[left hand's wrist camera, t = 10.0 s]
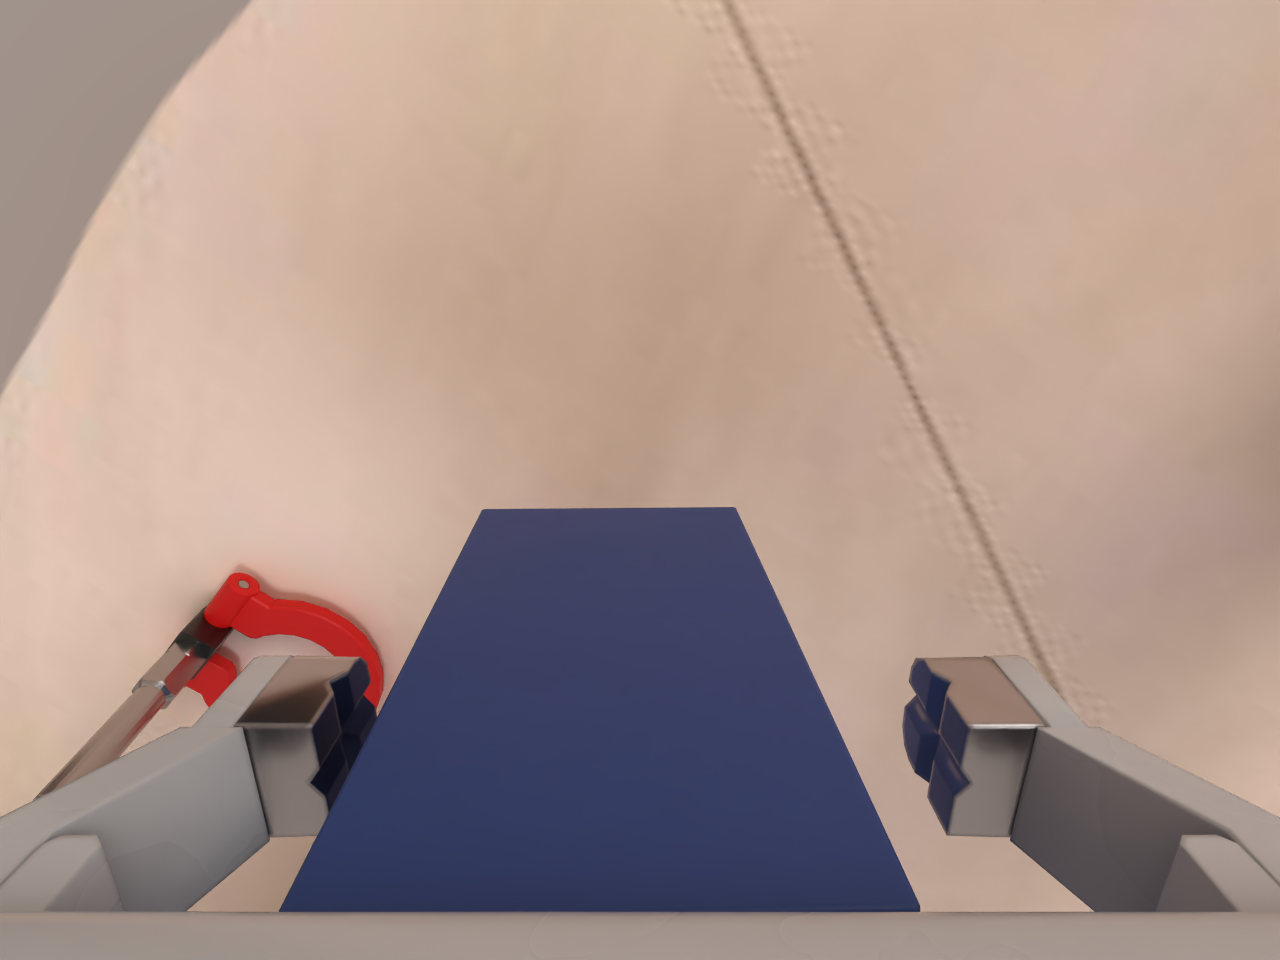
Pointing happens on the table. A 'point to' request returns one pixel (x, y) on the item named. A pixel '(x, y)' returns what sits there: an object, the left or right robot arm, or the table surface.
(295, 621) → the tow hook
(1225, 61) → the table surface
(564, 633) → the box
